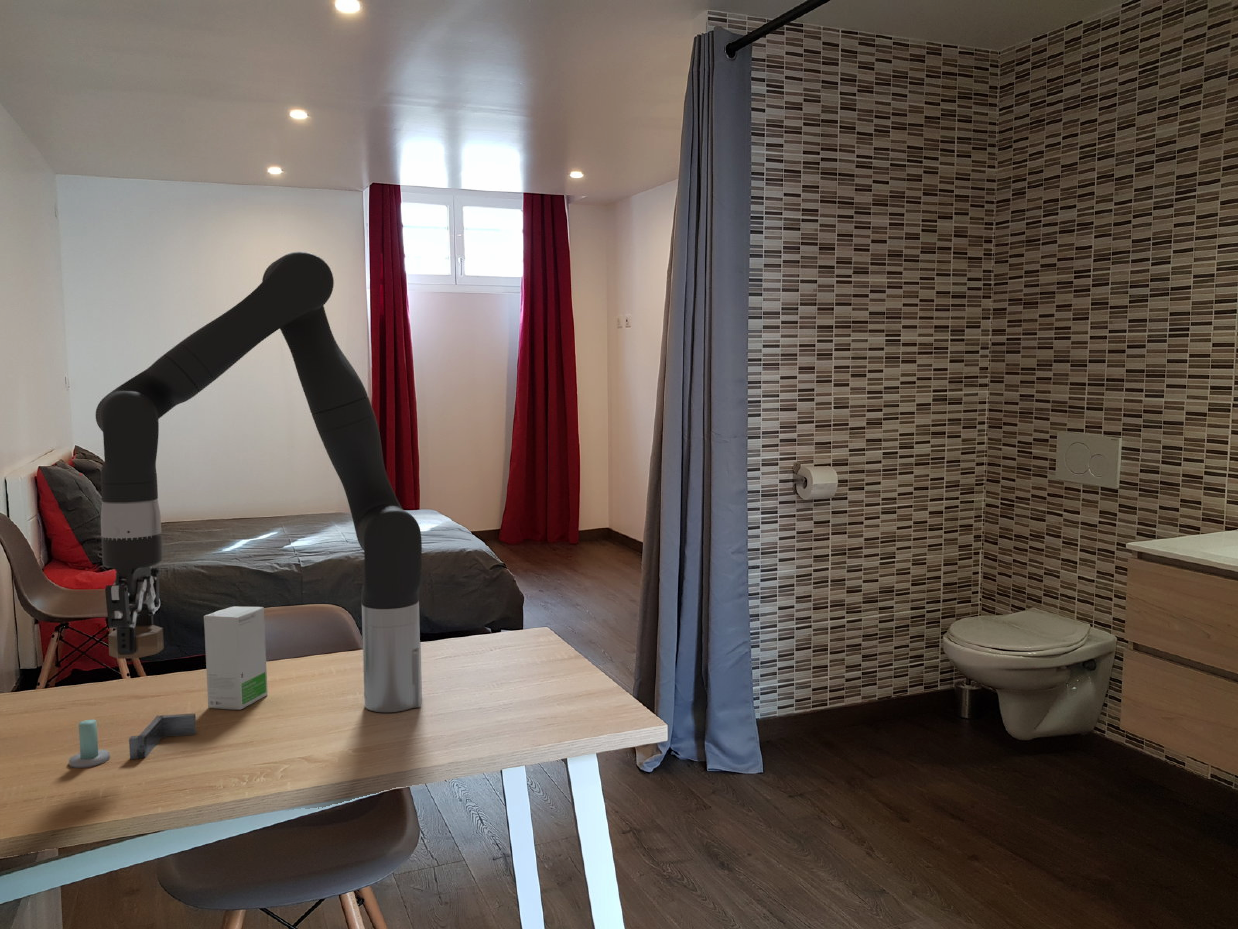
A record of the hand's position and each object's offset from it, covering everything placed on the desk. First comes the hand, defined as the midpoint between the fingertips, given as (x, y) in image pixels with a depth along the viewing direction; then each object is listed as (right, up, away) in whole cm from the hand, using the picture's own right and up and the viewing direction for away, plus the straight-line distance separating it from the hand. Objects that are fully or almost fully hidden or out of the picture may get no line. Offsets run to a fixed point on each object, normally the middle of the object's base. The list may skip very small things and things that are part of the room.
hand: (136, 646), depth 131 cm
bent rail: (+2, -16, +5) cm, 16 cm away
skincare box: (+5, -14, +23) cm, 28 cm away
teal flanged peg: (-6, -16, -1) cm, 17 cm away
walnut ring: (0, -1, 0) cm, 1 cm away
